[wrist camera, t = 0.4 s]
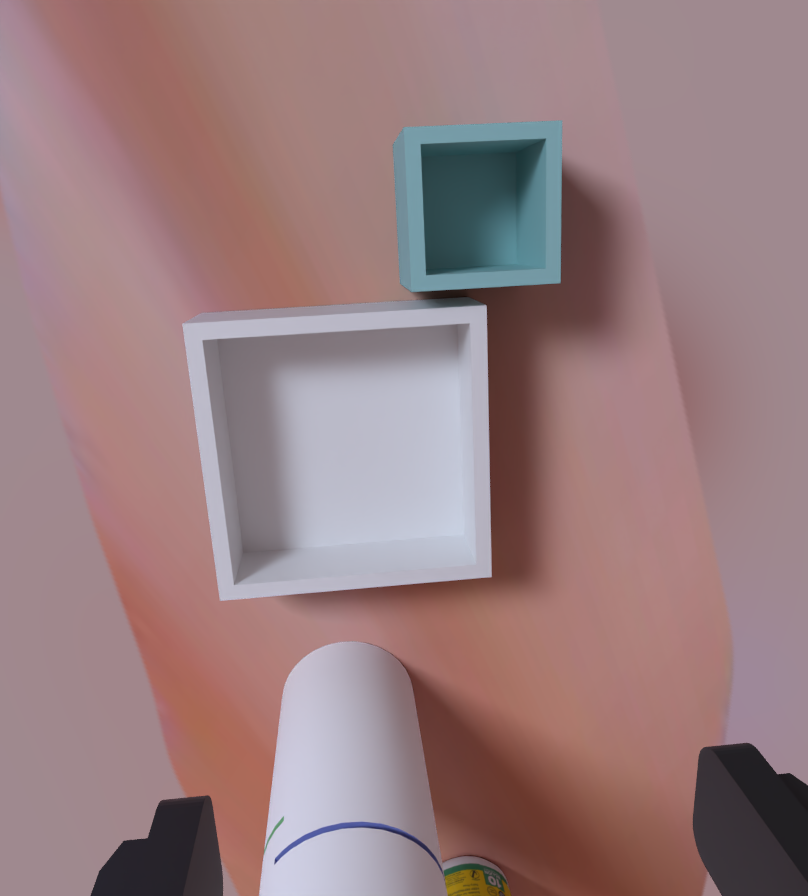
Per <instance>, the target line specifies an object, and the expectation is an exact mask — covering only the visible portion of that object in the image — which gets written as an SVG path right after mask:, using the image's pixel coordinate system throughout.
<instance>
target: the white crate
mask: <svg viewBox="0 0 808 896" xmlns="http://www.w3.org/2000/svg"><path fill="white" fill-rule="evenodd" d="M182 325H183V332H184V339H185V347H186V354H187V361H188V369H189V376H190V383H191V391H192V398H193V405H194V413H195V420H196V427H197V435H198V442H199V449H200V457H201V464H202V471H203V479H204V486H205V494H206V501H207V508H208V516H209V523H210V530H211V538H212V545H213V552H214V560H215V567H216V574H217V582H218V589H219V596H220V601H223V600H234V599H246V598H257V597H269V596H280V595H292V594H303V593H315V592H326V591H337V590H349V589H360V588H372V587H383V586H395V585H406V584H418V583H429V582H440V581H452V580H463V579H475V578H486V577H492V567H491V513H490V459H489V406H488V352H487V305H485V304H483V303H481V302H478V301H476V300H474V299H472V298H470V297H460V298H443V299H426V300H410V301H393V302H376V303H359V304H343V305H326V306H309V307H293V308H276V309H259V310H242V311H226V312H209V313H200V314H199V315H197V316H195V317H193V318H192V319H190V320H188V321H186V322H185V323H183V324H182Z"/></svg>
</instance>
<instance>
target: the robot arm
mask: <svg viewBox="0 0 808 896" xmlns="http://www.w3.org/2000/svg"><path fill="white" fill-rule="evenodd" d="M693 831H694V837H695V841H696V845H697V849H698V852H699V854H700V857H701V859H702V861H703V863H704V865H705V867H706V869H707V870H708V872H709V874H710V876H711V877H712V879H713V881H714V882H715V884H716V886H717V888H718V890H719V891H720V893H721V895H722V896H808V785H806V784H805V783H803V782H802V781H800V780H799V779H797V778H796V777H795V776H793V775H792V774H790V773H787V774H776V772H775V771H774V770H773V768H772V767H771V766H770V765H769V763H768V762H767V761H766V760H765V758H764V757H763V756H762V755H761V753H760V752H759V751H758V750H757V749H756V747H754V746H753V745H752V744H749V743H742V744H733V745H721V746H711V747H704V748H703V749H702V750H701V751H700V754H699V760H698V770H697V781H696V791H695V802H694V812H693ZM91 896H223V875H222V865H221V859H220V852H219V846H218V839H217V832H216V826H215V819H214V812H213V806H212V801H211V798H210V796H198V797H188V798H178V799H169V800H162V801H160V803H159V805H158V807H157V809H156V813H155V816H154V819H153V823H152V826H151V829H150V832H149V836H148V838H146V839H137V840H127V841H123V843H122V844H121V845H120V846H119V847H118V849H117V850H116V851H115V852H114V854H113V855H112V856H111V857H110V859H109V860H108V861H107V863H106V864H105V865H104V866H103V867H102V869H101V870H100V871H99V874H98V877H97V879H96V882H95V885H94V888H93V890H92V893H91Z"/></svg>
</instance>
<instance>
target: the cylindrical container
mask: <svg viewBox="0 0 808 896" xmlns="http://www.w3.org/2000/svg"><path fill="white" fill-rule="evenodd" d="M259 896H448V895H447V889H446V883H445V877H444V871H443V865H442V859H441V853H440V847H439V841H438V835H437V829H436V823H435V817H434V811H433V805H432V799H431V793H430V787H429V781H428V776H427V770H426V764H425V758H424V752H423V746H422V740H421V734H420V728H419V722H418V716H417V710H416V705H415V699H414V693H413V688H412V683H411V679H410V677H409V675H408V673H407V671H406V669H405V668H404V667H403V665H402V664H401V663H400V661H399V660H397V659H396V658H395V657H394V656H393V655H392V654H390V653H389V652H387V651H385V650H383V649H382V648H380V647H377V646H374V645H371V644H368V643H362V642H355V641H352V642H338V643H334V644H329V645H326V646H323V647H321V648H319V649H316V650H314V651H313V652H311V653H310V654H308V655H307V656H305V657H304V658H303V659H302V660H301V661H300V662H299V663H298V664H296V666H295V667H294V669H293V670H292V671H291V673H290V674H289V676H288V678H287V681H286V683H285V685H284V690H283V696H282V703H281V712H280V721H279V729H278V738H277V746H276V755H275V763H274V772H273V780H272V789H271V798H270V806H269V815H268V823H267V832H266V840H265V849H264V857H263V866H262V875H261V883H260V892H259Z"/></svg>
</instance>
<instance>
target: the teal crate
mask: <svg viewBox="0 0 808 896" xmlns="http://www.w3.org/2000/svg"><path fill="white" fill-rule="evenodd" d="M393 157H394V176H395V196H396V215H397V235H398V254H399V274H400V284H401V285H403V286H404V287H405V288H407V289H408V290H410V291H411V292H420V291H437V290H454V289H471V288H488V287H505V286H522V285H539V284H556V283H561V191H562V121H539V122H516V123H492V124H469V125H445V126H422V127H404V128H403V129H402V131H401V133H400V134H399V136H398V137H397V139H396V141H395V142H394V144H393Z"/></svg>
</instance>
